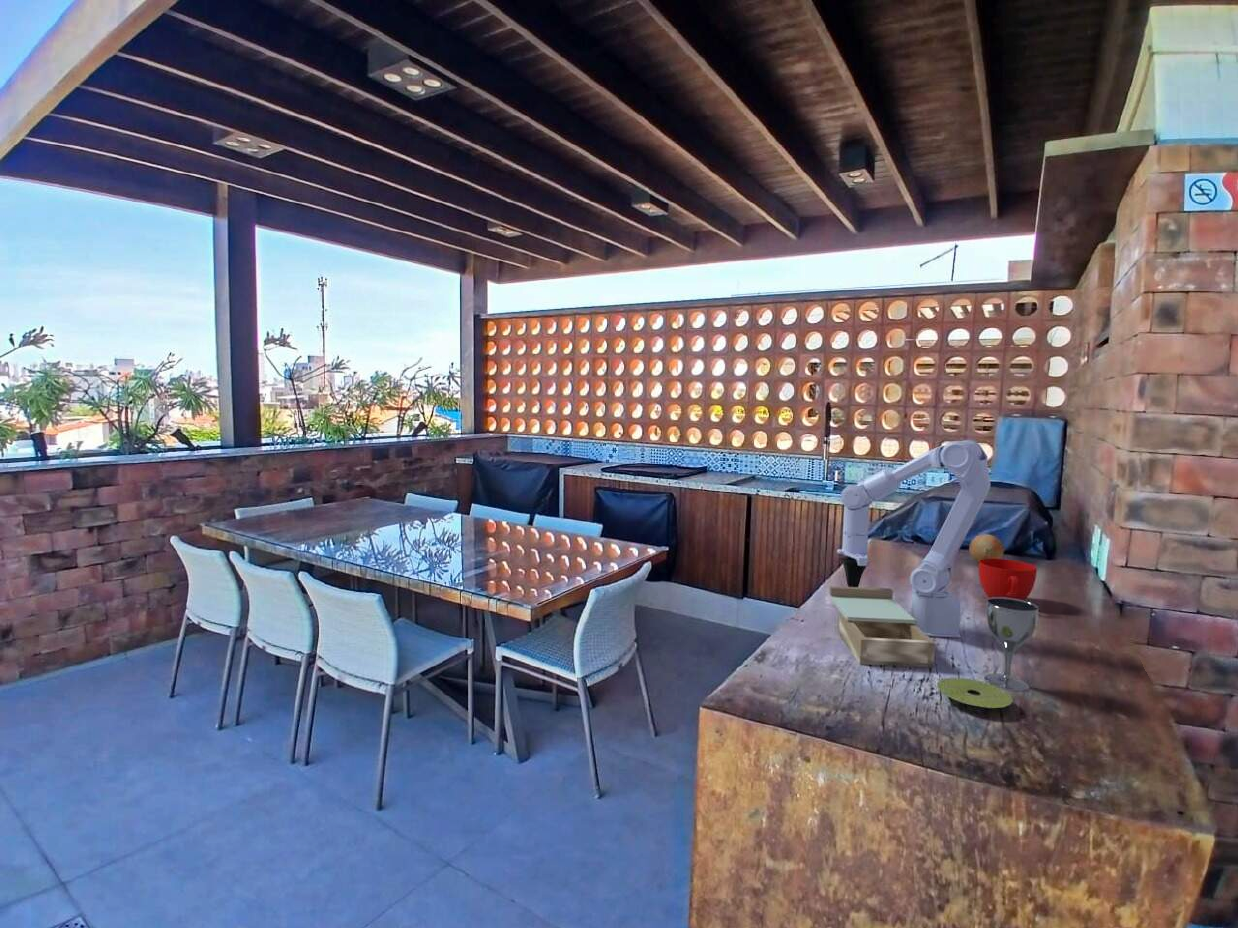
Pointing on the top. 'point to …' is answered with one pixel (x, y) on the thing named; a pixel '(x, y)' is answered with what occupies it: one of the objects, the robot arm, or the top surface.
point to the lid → (868, 605)
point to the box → (887, 643)
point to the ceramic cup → (1006, 578)
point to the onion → (986, 547)
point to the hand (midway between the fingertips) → (852, 587)
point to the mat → (974, 692)
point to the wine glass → (1010, 634)
